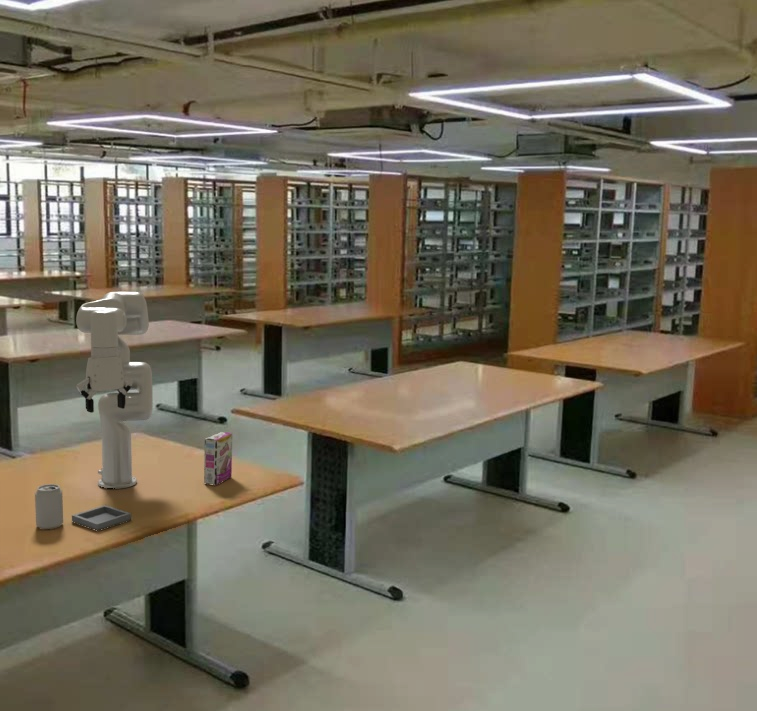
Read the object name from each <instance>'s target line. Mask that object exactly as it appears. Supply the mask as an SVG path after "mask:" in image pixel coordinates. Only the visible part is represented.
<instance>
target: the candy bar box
mask: <svg viewBox="0 0 757 711" xmlns="http://www.w3.org/2000/svg"><path fill="white" fill-rule="evenodd" d="M232 453H233V433H231V432H223V431H220V432H217V433H215V434H213V435H210V436H208V437H206V438H204V464H203V465H204V468H203V469H204V470H203V471H204V473H203V476H204V477H203V478H204V479H203V480H204V483H206V484H213V485H216V486H218V485H220V484H222V483H223V482H222V481H224V480H226V479H228V478H230V477H231V478H232V469H233V468H232V466H233V465H232V464H233V460H232V459H233V454H232ZM231 478H230V479H231ZM228 480H229V479H228ZM226 481H227V480H226ZM221 482H222V483H221ZM224 482H225V481H224ZM204 483H203V484H204ZM219 483H220V484H219ZM206 484H205V485H206ZM217 484H218V485H217Z"/></svg>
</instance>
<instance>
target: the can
mask: <svg viewBox="0 0 757 711" xmlns="http://www.w3.org/2000/svg"><path fill="white" fill-rule="evenodd" d="M36 489H37V490H36V491H35V492H34V501H35V502H34V503H35V504H34V505H35V526H37V528H39V529H40V528H41V530H44V529H50V530H53V529H52V528H55V529H57V528H56V527H58V528H59V526H60V525H63V523H64V506H63V505H64V503H63V502H64V501H63V500H64V498H63V489H61V487H60V485H59V484H55V483H49V484H43V485H39V486H37V487H36ZM60 527H61V526H60Z"/></svg>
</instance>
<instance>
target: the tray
mask: <svg viewBox="0 0 757 711" xmlns="http://www.w3.org/2000/svg"><path fill="white" fill-rule="evenodd" d="M129 520H131V521H132V512H128V511H125V510H122V509H120V508H116V507H113V506H110V505H107V504H105V505H100V506H98V507H95V508H91V509H87V510H85V511H82V512H79V513H75V514H72V515H71V522H72V521H73V522H75V523H78V524H80V525H83V526H86V527H89V528H91V529H95V530H97V531H98V530H101V529H104V528H107V527H110V526H113V525H116V526H118V525H117V524H119V525H121V524H120V523H122V524H124V523H123V522H125V523H127V522H126V521H128V522H130V521H129ZM75 523H74V524H75ZM78 524H77V525H78ZM80 525H79V526H80ZM83 526H82V527H83ZM86 527H85V528H86ZM113 527H114V526H113ZM89 528H88V529H89ZM110 528H111V527H110ZM91 529H90V530H91ZM107 529H108V528H107ZM104 530H105V529H104ZM97 531H96V532H97ZM101 531H102V530H101ZM98 532H99V531H98Z"/></svg>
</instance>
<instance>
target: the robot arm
mask: <svg viewBox="0 0 757 711" xmlns="http://www.w3.org/2000/svg"><path fill="white" fill-rule="evenodd" d="M75 320H76V321H75V324H76V326H77V329H78V330H79V331H80V332H82V333H84V334H85V333H86V334H89V333H90V354H91V355H90V357H88V358H87V364H86V368H85V370H86V371H85V379H82V380H81V381H80V382H78V383H77V384H76V385H75V388H77V391H78V393H79V394H80V395H81V396H82V397H83V398H84V399H85V400H84V401H85V410H86V412H88V413H90V414H92V413H94V412H95V407H94V399H93V397H94V395H95V394H96V393H102V392H110V391H117V392H110V393H104V394H102V395H101V396H100V398H99V399H98V402H97V407H98V412H99V419H100V426H101V427H100V428H101V453H102V454H101V455H102V460H101V461H102V462H101V463H102V467H101V469H99V470H97V474H98V475H101V478H99V480H98V481H97V482H98V483H97V485H98V486H99V487H100V486H101V488H102V487H104V488H103V489H107V488H113V489H112V490H116V489H117V490H118V489H120V490H121V489H126V488H130V487H132V486H134V485H136V484H137V481H138V480H137V478H136V477H135V476H133V468H132V463H133V462H132V460H133V459H132V456H133V455H132V433H131V430H130V428H129V426H128V425H126V424H125V423H124V422H127V421H128V422H131V421H147V420H149V419H150V418H151V417H152V415H153V371H152V370H153V369H152V368H151V365H150V364H149V363H147V362H144V361H131V357H130V356H131V355H130V354H131V350H130V347H129V345H128V344H127V343H126V341H125V340H124V339H122V338H121V337H120V336H119V335H122V336H123V335H124V336H128V335H129V336H131V335H133V336H138V335H140V336H141V335H144V334H146V333H147V332H148V330H149V322H150V321H149V312H148V304H147V300H146V298H145V296H144V295H143V294H142V293H141V292H138V291H110V292H107V293H105V294H104V295H103V296H102V297H101V298H100V299H98V300H95V301H90V302H86V303H83V304H81V306H80V307H79V308H78V311H77V313H76V318H75ZM84 387H85V388H84ZM85 389H86V391H85ZM133 390H135V391H137V392H129V391H133ZM114 488H115V489H114Z"/></svg>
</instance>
